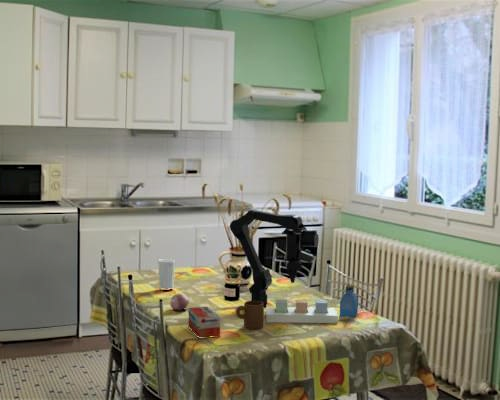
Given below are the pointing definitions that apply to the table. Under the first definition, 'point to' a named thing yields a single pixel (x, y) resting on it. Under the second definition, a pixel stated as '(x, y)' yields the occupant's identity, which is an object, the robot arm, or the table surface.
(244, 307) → the mug
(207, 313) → the medicine box
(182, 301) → the onion
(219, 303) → the table surface
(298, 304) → the button terracotta
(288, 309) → the panel
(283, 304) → the button sage
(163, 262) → the cup
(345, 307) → the perfume bottle
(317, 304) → the button slate
